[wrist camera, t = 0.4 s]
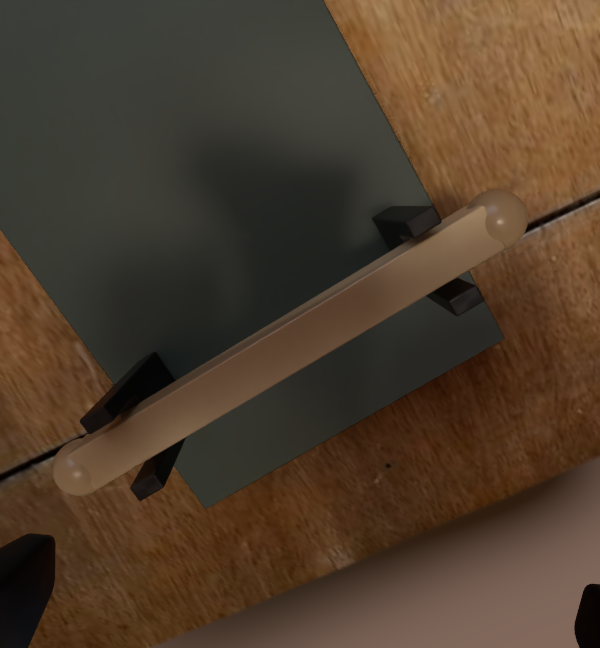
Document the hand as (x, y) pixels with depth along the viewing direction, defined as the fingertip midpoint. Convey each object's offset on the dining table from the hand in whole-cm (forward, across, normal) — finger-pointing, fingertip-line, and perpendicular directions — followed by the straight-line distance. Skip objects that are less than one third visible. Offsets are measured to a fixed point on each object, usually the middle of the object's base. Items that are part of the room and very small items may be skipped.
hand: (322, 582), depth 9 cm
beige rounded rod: (+10, +1, -1) cm, 11 cm away
